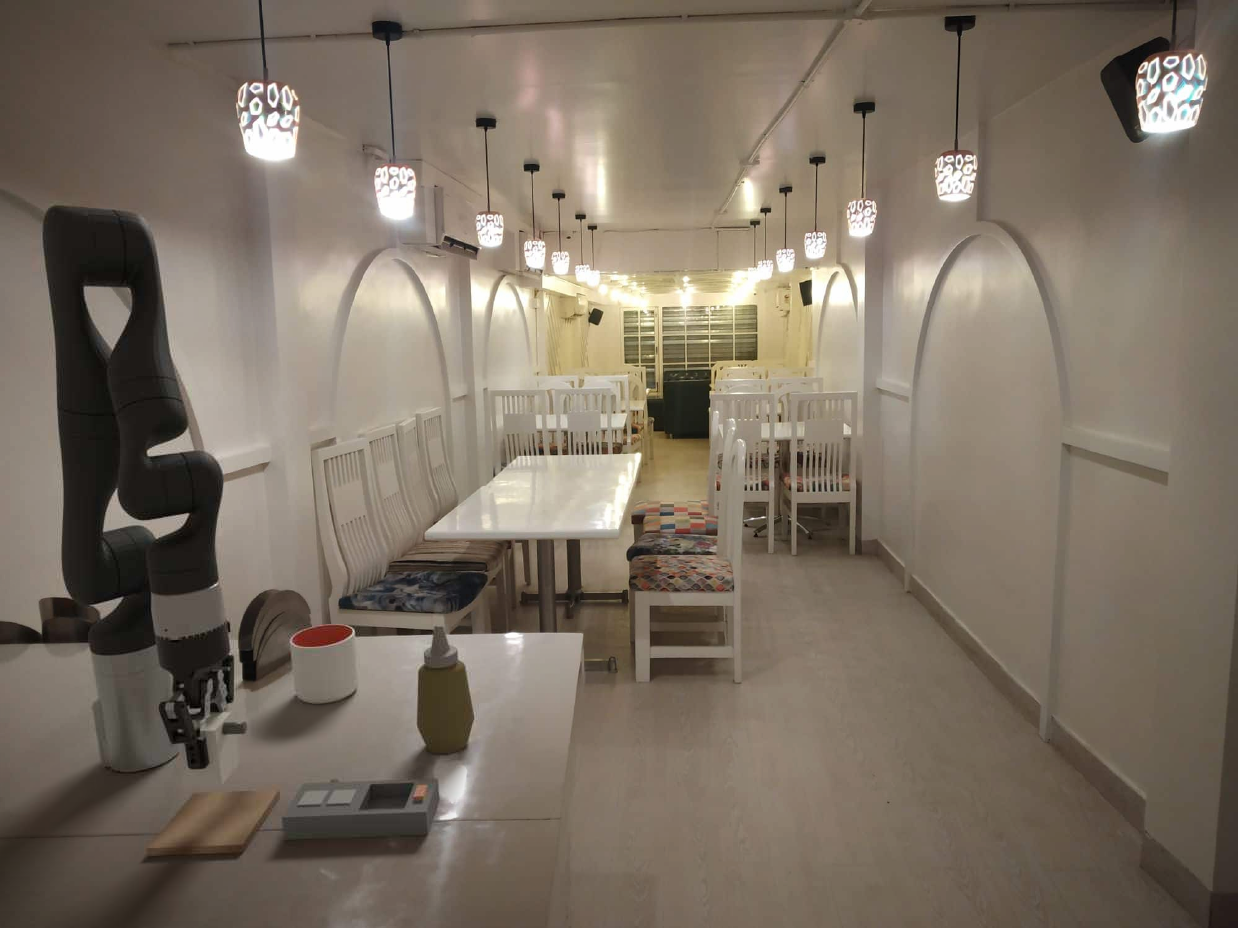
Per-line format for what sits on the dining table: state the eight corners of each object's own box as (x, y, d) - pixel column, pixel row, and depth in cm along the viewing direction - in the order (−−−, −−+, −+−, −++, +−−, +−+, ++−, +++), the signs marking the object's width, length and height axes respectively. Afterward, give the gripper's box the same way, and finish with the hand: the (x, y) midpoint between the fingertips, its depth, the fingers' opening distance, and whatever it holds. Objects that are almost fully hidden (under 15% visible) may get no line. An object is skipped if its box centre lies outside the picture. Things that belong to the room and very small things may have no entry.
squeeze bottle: (463, 762, 113) (454, 639, 109) (408, 757, 114) (398, 636, 111) (484, 732, 120) (476, 617, 117) (433, 728, 122) (424, 614, 119)
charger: (184, 786, 97) (176, 731, 96) (202, 765, 101) (195, 713, 100) (242, 783, 97) (235, 729, 96) (257, 762, 101) (251, 710, 100)
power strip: (284, 839, 97) (281, 812, 96) (317, 785, 108) (314, 760, 107) (427, 834, 97) (425, 807, 97) (445, 780, 108) (443, 755, 108)
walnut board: (148, 855, 95) (147, 848, 95) (194, 799, 106) (193, 792, 105) (243, 852, 95) (242, 844, 95) (280, 796, 106) (279, 789, 106)
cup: (299, 712, 128) (293, 653, 126) (292, 687, 137) (286, 631, 135) (365, 697, 133) (359, 639, 131) (354, 673, 141) (348, 619, 139)
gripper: (188, 601, 102) (206, 727, 106) (123, 648, 88) (145, 791, 92) (248, 599, 102) (264, 725, 106) (192, 645, 88) (212, 788, 92)
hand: (209, 755), depth 99 cm, fingers closed on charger, 4 cm apart
